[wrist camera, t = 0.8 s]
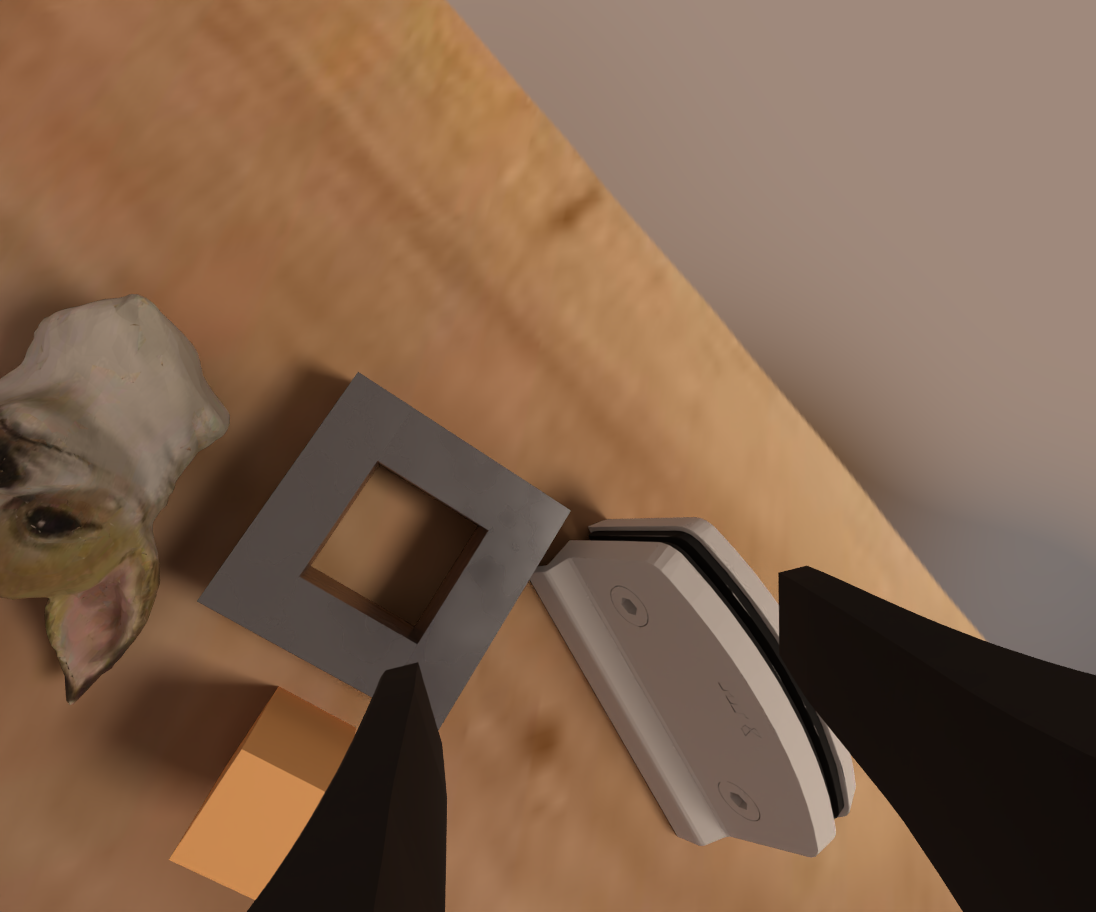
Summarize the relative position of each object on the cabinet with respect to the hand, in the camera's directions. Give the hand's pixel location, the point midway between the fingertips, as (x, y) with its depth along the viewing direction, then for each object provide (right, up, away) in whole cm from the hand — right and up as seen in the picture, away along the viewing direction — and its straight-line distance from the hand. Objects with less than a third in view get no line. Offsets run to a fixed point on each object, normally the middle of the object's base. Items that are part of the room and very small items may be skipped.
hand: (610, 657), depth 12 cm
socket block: (-8, 0, +18) cm, 19 cm away
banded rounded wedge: (+5, -7, +21) cm, 23 cm away
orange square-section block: (-13, -9, +16) cm, 22 cm away
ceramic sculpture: (-21, +3, +15) cm, 26 cm away
